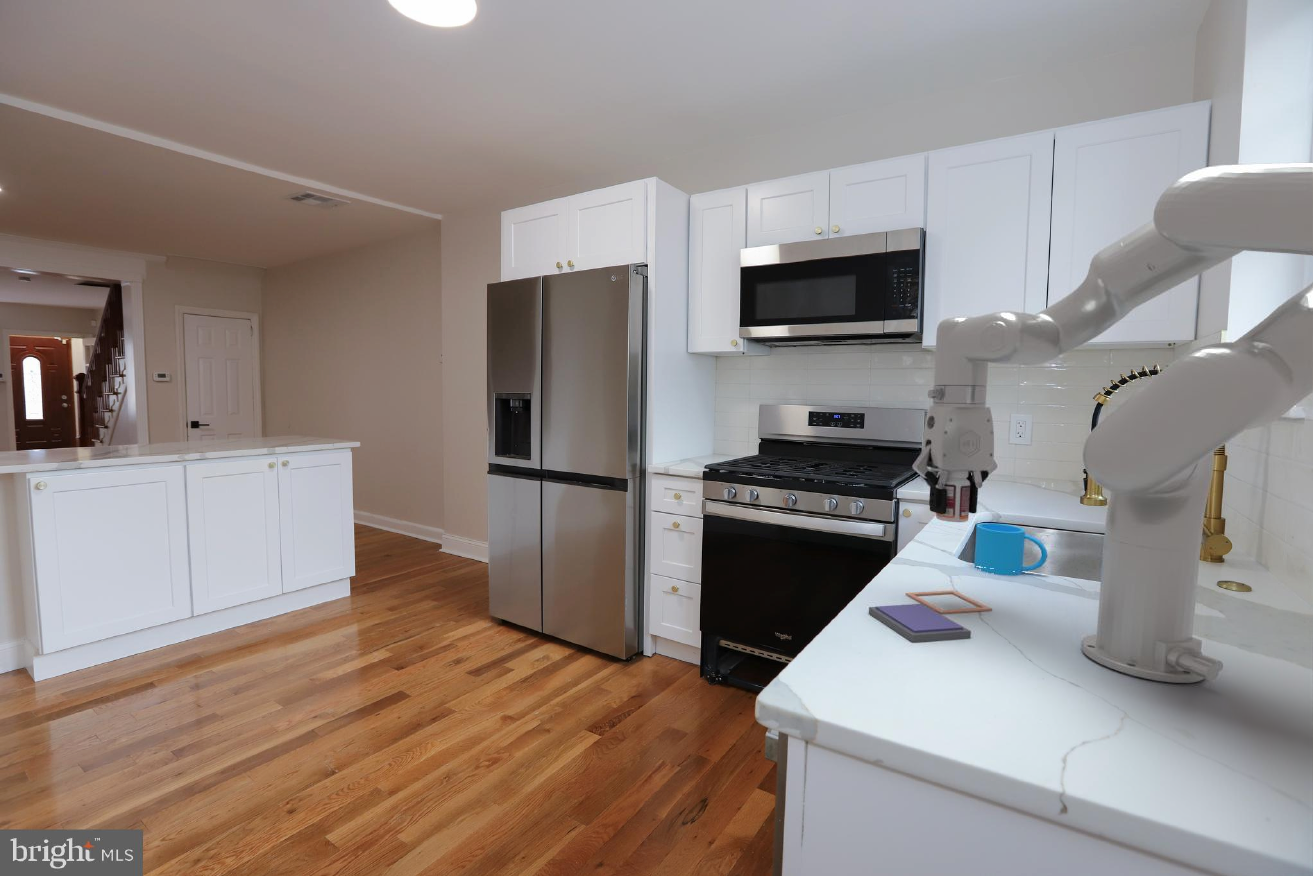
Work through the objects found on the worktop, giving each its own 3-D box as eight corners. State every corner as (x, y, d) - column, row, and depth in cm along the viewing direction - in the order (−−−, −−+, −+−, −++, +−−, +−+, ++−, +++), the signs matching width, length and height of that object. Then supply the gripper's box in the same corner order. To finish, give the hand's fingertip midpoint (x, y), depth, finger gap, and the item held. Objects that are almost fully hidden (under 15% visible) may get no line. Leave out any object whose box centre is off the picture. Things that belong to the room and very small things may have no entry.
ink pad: (970, 638, 87) (971, 628, 87) (912, 642, 85) (913, 633, 85) (921, 610, 98) (921, 602, 98) (868, 613, 96) (869, 605, 96)
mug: (971, 570, 120) (974, 528, 119) (976, 561, 127) (979, 521, 126) (1045, 582, 114) (1048, 538, 113) (1046, 571, 120) (1049, 529, 120)
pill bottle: (961, 517, 103) (964, 466, 102) (973, 523, 98) (976, 469, 97) (931, 516, 103) (933, 465, 102) (941, 522, 98) (944, 468, 98)
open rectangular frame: (991, 610, 98) (991, 608, 98) (940, 614, 96) (940, 612, 96) (953, 592, 107) (953, 590, 107) (905, 594, 105) (905, 593, 105)
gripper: (926, 397, 93) (920, 518, 95) (1023, 398, 97) (1016, 515, 98) (896, 396, 101) (891, 509, 102) (988, 397, 104) (982, 506, 106)
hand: (952, 511), depth 100 cm, fingers closed on pill bottle, 4 cm apart
